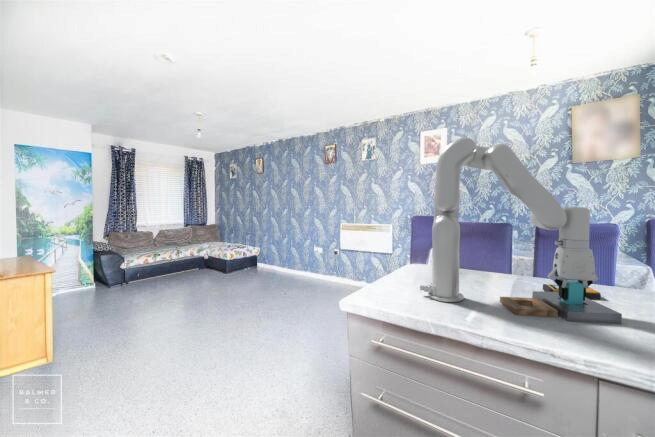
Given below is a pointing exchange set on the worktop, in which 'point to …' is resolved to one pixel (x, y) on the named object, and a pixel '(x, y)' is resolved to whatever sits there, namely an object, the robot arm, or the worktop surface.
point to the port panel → (579, 309)
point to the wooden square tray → (528, 306)
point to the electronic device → (589, 292)
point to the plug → (574, 292)
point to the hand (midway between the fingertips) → (571, 298)
